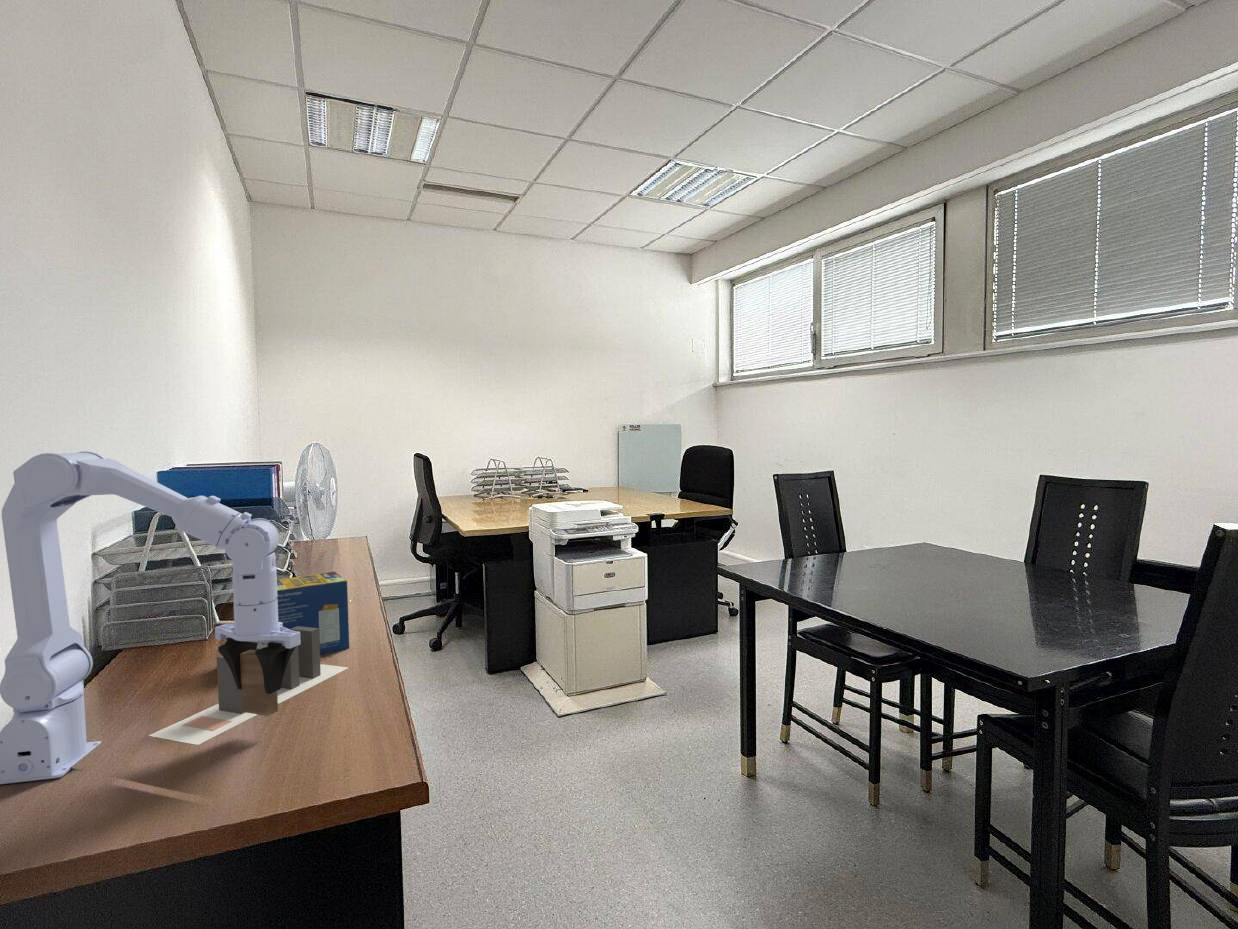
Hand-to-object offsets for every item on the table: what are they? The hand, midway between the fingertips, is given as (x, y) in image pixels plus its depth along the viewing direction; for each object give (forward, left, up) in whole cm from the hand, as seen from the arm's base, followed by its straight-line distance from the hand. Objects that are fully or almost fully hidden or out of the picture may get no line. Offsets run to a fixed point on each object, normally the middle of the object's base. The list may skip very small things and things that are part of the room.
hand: (259, 689), depth 94 cm
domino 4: (+23, -1, -7) cm, 24 cm away
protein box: (+38, +3, -8) cm, 39 cm away
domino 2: (0, 0, -3) cm, 3 cm away
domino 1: (+10, +7, -7) cm, 14 cm away
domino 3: (+19, +2, -7) cm, 20 cm away
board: (+14, +4, -7) cm, 17 cm away
